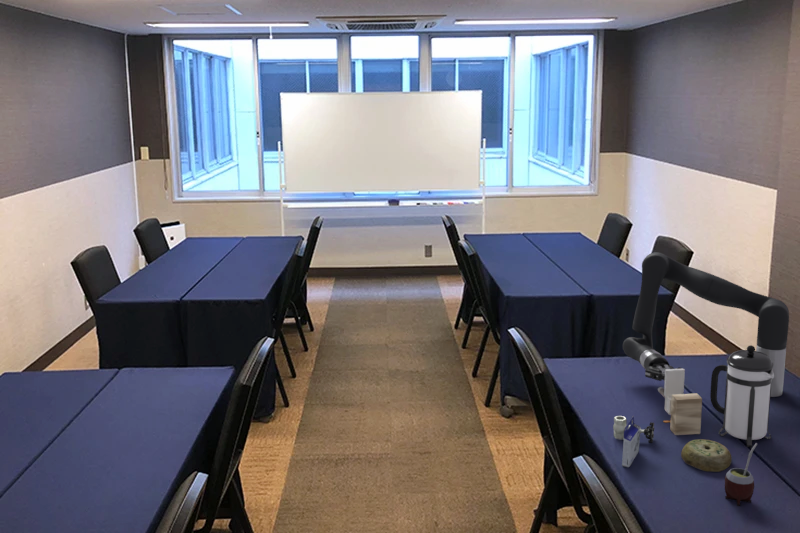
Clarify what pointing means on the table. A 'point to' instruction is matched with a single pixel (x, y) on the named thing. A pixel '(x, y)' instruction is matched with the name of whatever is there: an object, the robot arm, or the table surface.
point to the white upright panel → (673, 385)
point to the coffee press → (745, 394)
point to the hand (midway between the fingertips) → (673, 382)
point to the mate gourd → (740, 483)
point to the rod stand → (684, 413)
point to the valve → (621, 424)
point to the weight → (706, 455)
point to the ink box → (630, 442)
